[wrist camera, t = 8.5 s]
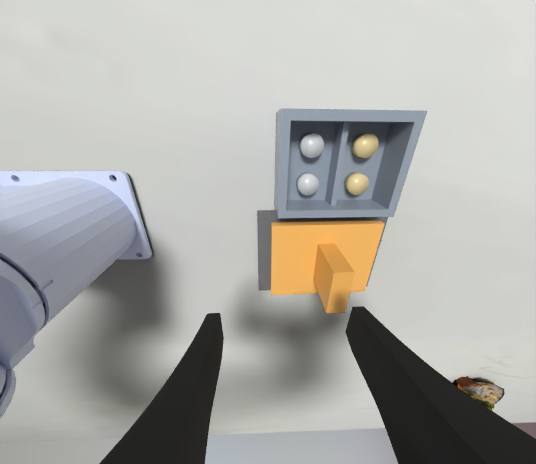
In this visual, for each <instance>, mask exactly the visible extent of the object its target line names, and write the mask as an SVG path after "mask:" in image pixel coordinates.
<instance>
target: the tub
mask: <svg viewBox="0 0 536 464" xmlns="http://www.w3.org/2000/svg"><path fill="white" fill-rule="evenodd" d="M426 113H427V111H403V110H338V109H280V110H279V111H278V112H277V113H276V154H275V197H274V206H275V210H276V214H277V218H337V217H394V214H395V211H396V208H397V204H398V201H399V198H400V195H401V192H402V189H403V186H404V182H405V179H406V176H407V173H408V170H409V167H410V164H411V161H412V157H413V154H414V151H415V148H416V145H417V142H418V139H419V135H420V132H421V129H422V126H423V123H424V120H425V117H426Z"/></svg>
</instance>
